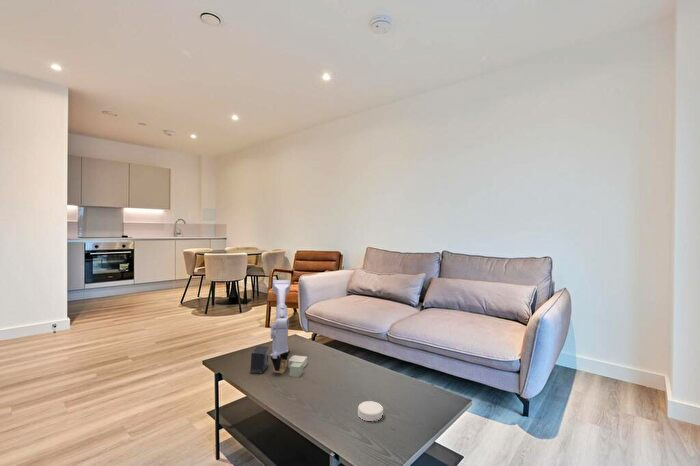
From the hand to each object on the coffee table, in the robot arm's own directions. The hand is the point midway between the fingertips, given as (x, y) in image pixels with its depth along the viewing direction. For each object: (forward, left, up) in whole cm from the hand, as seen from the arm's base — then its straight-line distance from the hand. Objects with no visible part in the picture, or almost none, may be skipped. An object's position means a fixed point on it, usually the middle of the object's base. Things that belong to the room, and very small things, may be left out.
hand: (280, 367), depth 168 cm
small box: (+2, -11, -2) cm, 11 cm away
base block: (-9, +6, -2) cm, 11 cm away
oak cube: (0, 0, -2) cm, 2 cm away
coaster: (+27, +51, -2) cm, 58 cm away
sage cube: (+1, +9, -2) cm, 10 cm away
